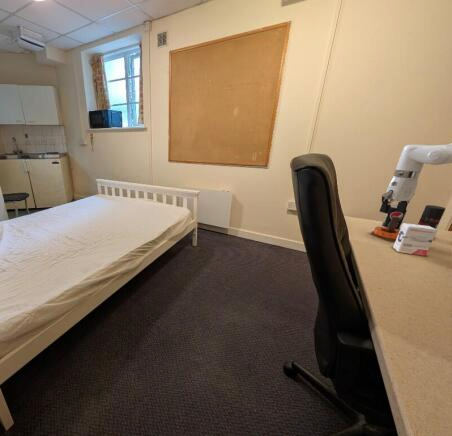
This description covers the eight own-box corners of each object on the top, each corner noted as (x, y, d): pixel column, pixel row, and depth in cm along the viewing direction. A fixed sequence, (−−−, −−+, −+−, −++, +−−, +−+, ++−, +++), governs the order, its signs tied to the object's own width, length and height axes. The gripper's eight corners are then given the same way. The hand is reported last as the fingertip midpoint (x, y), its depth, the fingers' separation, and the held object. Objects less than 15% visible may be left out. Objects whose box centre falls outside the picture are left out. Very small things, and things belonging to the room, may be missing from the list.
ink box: (418, 250, 93) (430, 225, 89) (425, 256, 89) (438, 229, 85) (392, 247, 97) (402, 222, 93) (398, 252, 92) (409, 226, 88)
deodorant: (413, 232, 111) (426, 204, 106) (431, 236, 107) (445, 207, 101) (412, 236, 107) (425, 206, 102) (431, 240, 103) (445, 209, 98)
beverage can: (379, 227, 117) (388, 206, 113) (382, 225, 121) (390, 204, 116) (397, 231, 112) (406, 209, 108) (399, 228, 116) (408, 207, 111)
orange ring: (407, 237, 102) (408, 234, 101) (390, 239, 100) (392, 235, 99) (384, 229, 111) (385, 226, 110) (368, 231, 109) (369, 227, 108)
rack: (406, 240, 103) (415, 219, 99) (391, 241, 101) (400, 220, 98) (384, 232, 111) (392, 213, 108) (370, 234, 110) (377, 214, 106)
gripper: (401, 176, 90) (386, 215, 96) (432, 175, 93) (416, 213, 99) (380, 173, 97) (368, 210, 103) (410, 172, 100) (396, 208, 106)
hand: (391, 211), depth 101 cm, fingers open, 9 cm apart
